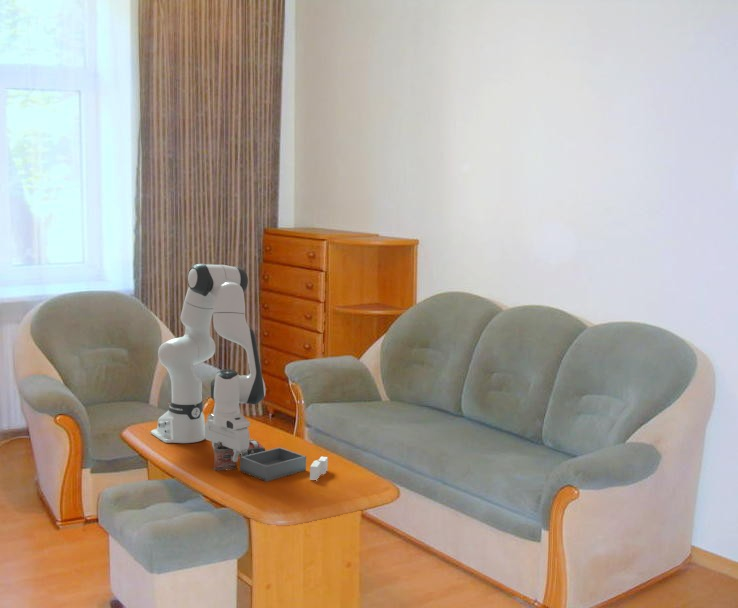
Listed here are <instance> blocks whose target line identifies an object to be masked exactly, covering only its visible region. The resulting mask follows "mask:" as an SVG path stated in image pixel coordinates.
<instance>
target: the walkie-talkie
mask: <svg viewBox="0 0 738 608" xmlns="http://www.w3.org/2000/svg"><path fill="white" fill-rule="evenodd" d="M262 451H266V448H265V447H264V446H263V445H262V444H261V443H260V442H259V441H257V440H255V439H252V438H251V439H250V440H249V448H248V450H246V451H242V452H241V453H240V454H241V455H240V454H239V455H240V457H242V456H246V455H250V454H254V453H258V452H262Z"/></svg>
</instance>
